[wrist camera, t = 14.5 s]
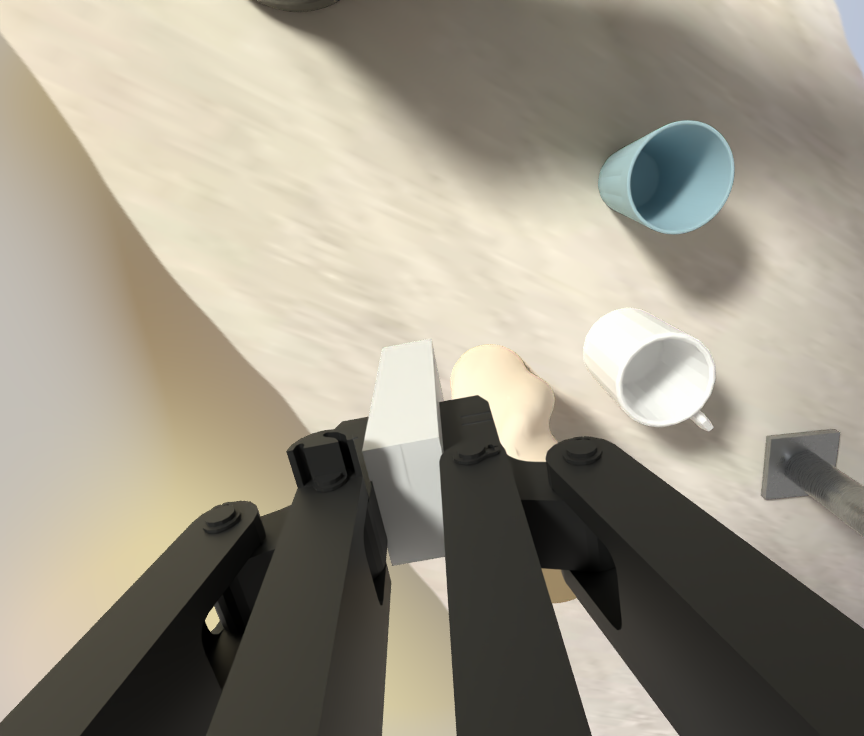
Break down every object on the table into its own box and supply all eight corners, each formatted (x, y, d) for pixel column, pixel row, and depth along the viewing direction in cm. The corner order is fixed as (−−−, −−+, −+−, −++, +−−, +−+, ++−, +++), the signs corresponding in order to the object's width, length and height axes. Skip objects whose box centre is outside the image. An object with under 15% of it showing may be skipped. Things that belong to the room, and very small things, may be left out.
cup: (629, 243, 52) (680, 255, 42) (567, 189, 50) (605, 189, 40) (688, 173, 50) (756, 169, 40) (626, 115, 48) (681, 96, 38)
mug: (644, 427, 58) (688, 474, 48) (565, 349, 55) (596, 383, 45) (706, 373, 56) (765, 410, 47) (629, 289, 53) (674, 312, 44)
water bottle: (563, 386, 56) (698, 569, 29) (500, 448, 58) (573, 673, 31) (489, 318, 54) (561, 450, 27) (425, 385, 55) (435, 570, 29)
